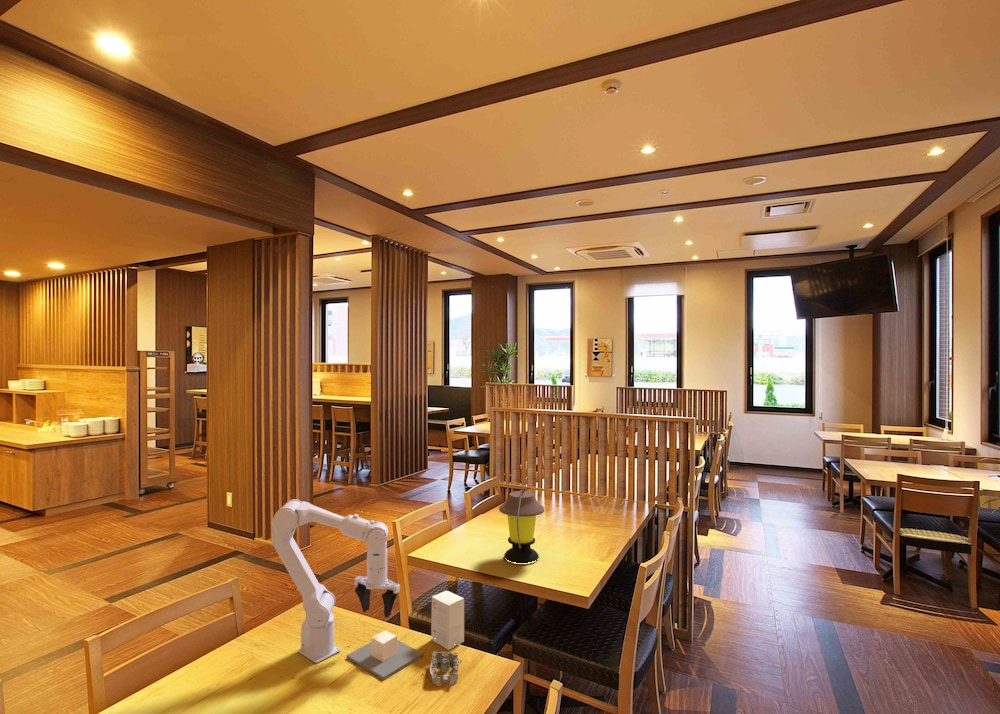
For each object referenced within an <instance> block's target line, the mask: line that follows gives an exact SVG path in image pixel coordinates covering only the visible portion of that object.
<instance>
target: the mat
mask: <svg viewBox="0 0 1000 714" xmlns="http://www.w3.org/2000/svg"><path fill="white" fill-rule="evenodd" d="M422 657H424V653H423V652H422V651H419V650H417V649H415V648H414V647H412V646H410V645H408V644H406V643H404V642H401V641H400V640H398V639H397V654H396V655H394V656H392V657H391V658H389V659H387V660H386V661H384V662H382V661H380V660H378V659H376V658H374V657H373V656H371V642H369V643H368V644H364V645H363V646H361V647H360V648H357V649H356V650H354V651H352V652H349V653H348V654H347V655H346V659H347V658H348V659H347V660H349V661H351V662H352V663H354V664H355V665H357V666H359V667H360V668H362V669H364V670H366V671H367V672H369V673H371V674H372V675H374V676H376V677H378V678H379V679H380V680H383V681H385V680H387V679H388V678H390V677H392V676H393V675H395V674H397V673H398V672H400V671H401V670H403V669H405V668H407V667H408V666H410V665H411V664H413V663H414V662H416V661H417V660H419V659H421V658H422Z"/></svg>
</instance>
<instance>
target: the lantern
mask: <svg viewBox="0 0 1000 714" xmlns="http://www.w3.org/2000/svg"><path fill="white" fill-rule="evenodd" d="M526 489H527V488H526V485H525V484H523V487H522V489H520V490H515V491H511V492H510V493H509V494H508V497H507V500H505V501H504V502H503V503H502V504H501V505H500V506H499V508H498V510H499V512H500V513H501V514H504V515H505V516H506V515H507V521H508V523H507V525H508V531H509V537H508V538H507V542H508V543H509V544H511V545H512V546H511V547H510V548H509V549H507V550H506V551H505V553H504V556H503V558H504V557H505V558H506V559H507V560H509V561H511V562H516V563H528V562H532V561H535V560H537V559H538V558H540V556H539V553H538V552H537V551H536V550H535V549H534V548H531V545H533V544H535V543H536V539H535V537H534V535H535V528H536V527H535V526H536V520H537V516H538V515H541V514H543V513H544V512H545V508H544V506H543V505H542V504H541V503H540V502H539V501H538V500H537V499H536V495H535V493H534V492H532V491H527V490H526Z"/></svg>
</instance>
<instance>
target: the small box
mask: <svg viewBox="0 0 1000 714" xmlns="http://www.w3.org/2000/svg"><path fill="white" fill-rule="evenodd" d="M430 617H431V620H430V621H431V623H430V624H431V625H430V627H431V628H430V634H431V636H430V639H431V641H433V642H434V643H436V644H437V645H439V646H441V647H442V648H445V649H446V650H447V651H449V650H452V649H453V648H455V647H456V646H455V645H454V644H456V645H457V646H459V645H461V644H462V643H464V642H465V598H464V597H462V596H460V595H458V594H456V593H453V592H451V591H449V590H445V591H442V592H440V593H437V594H435V595H432V596H431V616H430ZM431 637H433V638H431ZM434 638H436V639H434ZM454 646H455V647H454Z"/></svg>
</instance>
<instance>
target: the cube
mask: <svg viewBox="0 0 1000 714" xmlns="http://www.w3.org/2000/svg"><path fill="white" fill-rule="evenodd" d="M397 640H398V635H396V634H393V633H392V632H389V631H387V630H383V631H381V632H379V633H378V634H375V635H374V636H372V637H371V639H370V641H371V642H370V643H371V656H373V657H374V658H376V659H378V660H380V661H382V662H384V661H386V660H387V659H389V658H391V657H392V656H394V655H396V654H397Z"/></svg>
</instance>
